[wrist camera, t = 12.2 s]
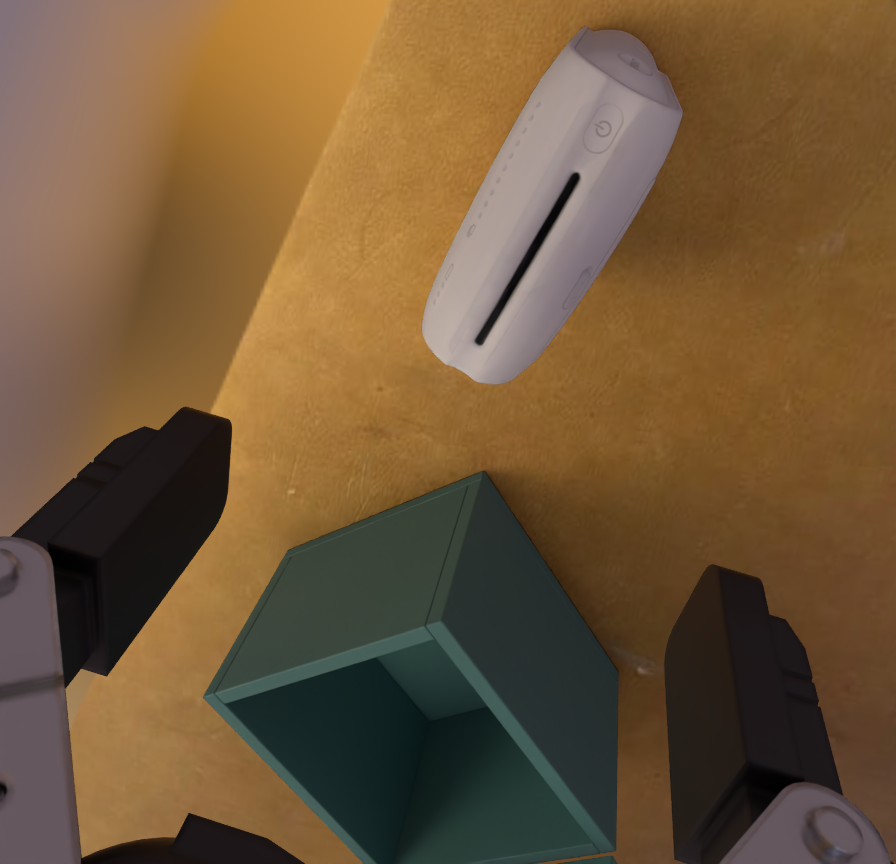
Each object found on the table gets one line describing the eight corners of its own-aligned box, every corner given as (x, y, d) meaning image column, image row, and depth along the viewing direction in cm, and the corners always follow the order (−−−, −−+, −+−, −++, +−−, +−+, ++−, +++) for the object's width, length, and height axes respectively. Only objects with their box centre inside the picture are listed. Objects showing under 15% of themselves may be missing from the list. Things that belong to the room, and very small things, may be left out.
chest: (287, 550, 45) (201, 697, 36) (484, 469, 39) (441, 621, 30) (428, 721, 51) (384, 886, 42) (619, 672, 45) (616, 851, 36)
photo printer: (584, 1, 28) (558, 24, 18) (685, 61, 28) (717, 119, 18) (458, 242, 33) (381, 368, 23) (543, 290, 34) (506, 435, 23)
